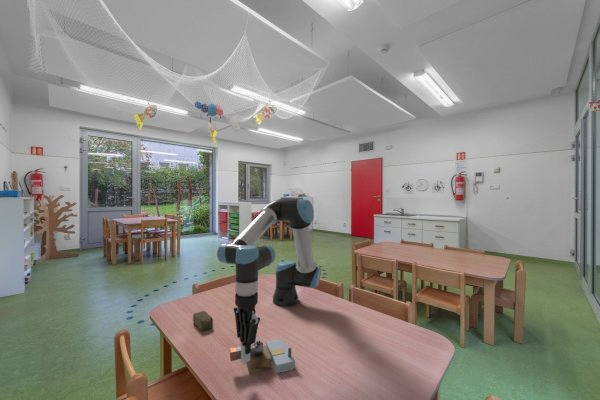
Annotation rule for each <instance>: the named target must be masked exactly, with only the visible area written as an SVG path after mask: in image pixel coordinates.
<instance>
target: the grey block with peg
mask: <svg viewBox="0 0 600 400" xmlns="http://www.w3.org/2000/svg"><path fill="white" fill-rule="evenodd" d="M265 346H267V349H268V351H269V353H270V356H271V366H272V367H273V369H274V371H275V374H276V373H277V374H279V373H280V372H281V373H283V372H284V371H285V372H288V370H289V371H291V369H293V370H295V369H294V368H296V359H295V358H294V356H293V354H292V347H290V346H289V347H288V346H287V344H286V343H285V341H284V339H283V338H279V339H274V340H268V341H265Z"/></svg>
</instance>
